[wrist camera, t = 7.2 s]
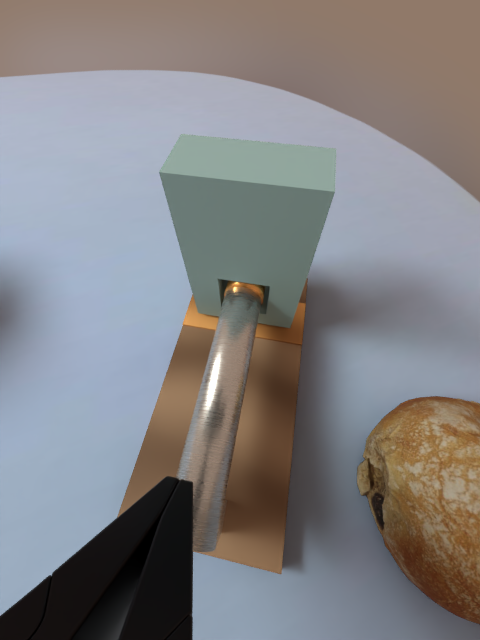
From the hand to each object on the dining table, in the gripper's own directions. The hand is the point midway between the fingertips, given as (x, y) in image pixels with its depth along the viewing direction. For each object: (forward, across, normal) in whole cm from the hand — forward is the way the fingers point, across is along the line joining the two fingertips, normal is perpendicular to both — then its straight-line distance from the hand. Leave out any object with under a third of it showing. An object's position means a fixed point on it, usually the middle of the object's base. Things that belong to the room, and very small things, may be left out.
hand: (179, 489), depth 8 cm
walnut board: (+11, 0, +2) cm, 11 cm away
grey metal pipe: (+11, 0, +1) cm, 11 cm away
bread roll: (+9, -14, +5) cm, 17 cm away
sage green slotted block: (+14, 0, -3) cm, 14 cm away
